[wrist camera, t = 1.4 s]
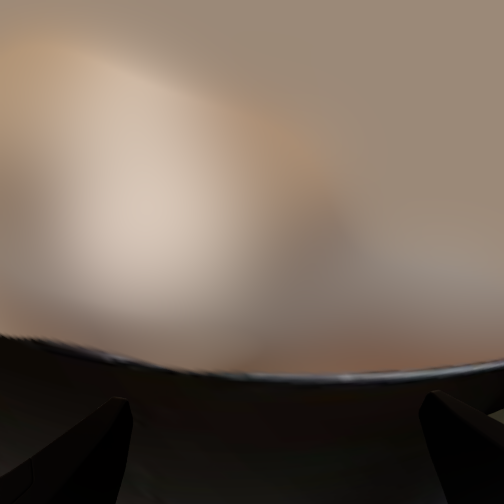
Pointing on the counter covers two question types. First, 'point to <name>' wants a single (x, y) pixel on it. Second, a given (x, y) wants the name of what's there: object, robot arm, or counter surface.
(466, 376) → the counter surface
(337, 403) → the counter surface
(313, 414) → the counter surface
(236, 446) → the counter surface
